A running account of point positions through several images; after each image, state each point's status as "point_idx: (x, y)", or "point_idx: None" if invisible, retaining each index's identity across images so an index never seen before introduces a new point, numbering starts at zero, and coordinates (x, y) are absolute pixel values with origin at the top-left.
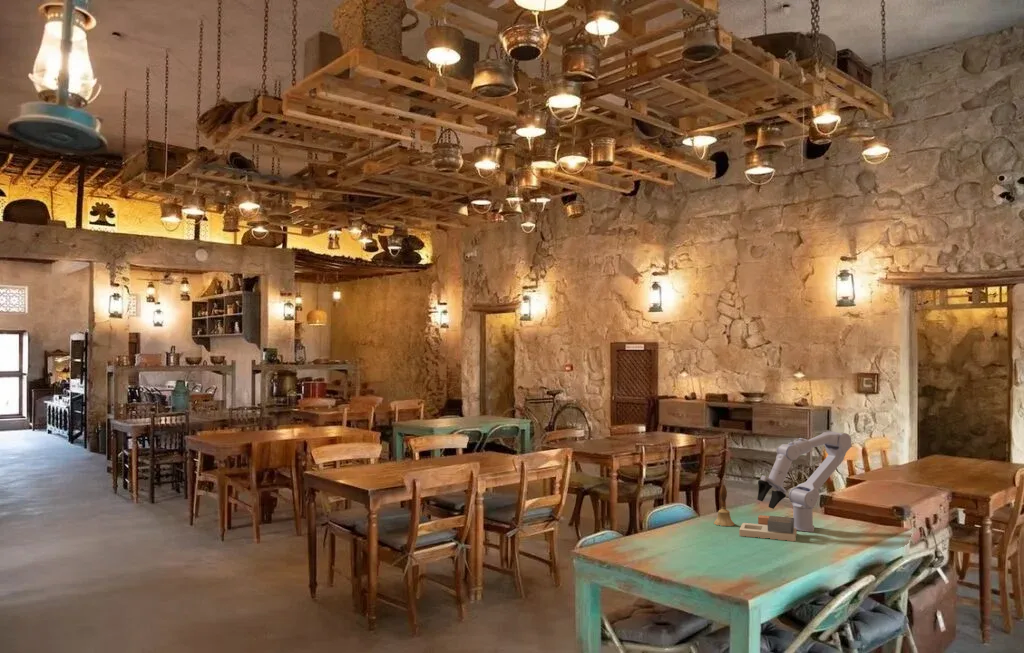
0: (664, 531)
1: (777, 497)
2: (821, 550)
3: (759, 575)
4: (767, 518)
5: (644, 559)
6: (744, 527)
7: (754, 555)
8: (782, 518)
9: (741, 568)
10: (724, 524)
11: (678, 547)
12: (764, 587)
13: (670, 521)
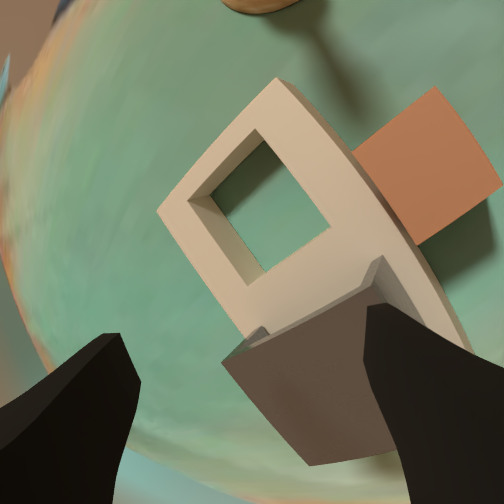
0: (51, 59)
1: (423, 487)
2: (306, 482)
3: None
4: (404, 224)
5: (7, 243)
6: (221, 166)
7: None
8: (370, 399)
9: None
10: (230, 1)
11: (32, 215)
12: None
13: None
